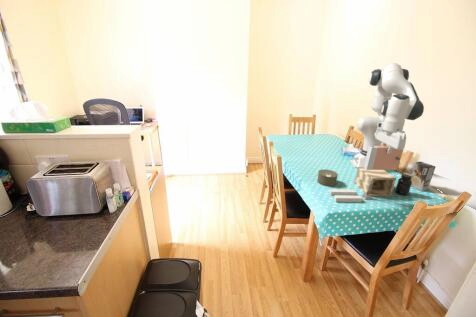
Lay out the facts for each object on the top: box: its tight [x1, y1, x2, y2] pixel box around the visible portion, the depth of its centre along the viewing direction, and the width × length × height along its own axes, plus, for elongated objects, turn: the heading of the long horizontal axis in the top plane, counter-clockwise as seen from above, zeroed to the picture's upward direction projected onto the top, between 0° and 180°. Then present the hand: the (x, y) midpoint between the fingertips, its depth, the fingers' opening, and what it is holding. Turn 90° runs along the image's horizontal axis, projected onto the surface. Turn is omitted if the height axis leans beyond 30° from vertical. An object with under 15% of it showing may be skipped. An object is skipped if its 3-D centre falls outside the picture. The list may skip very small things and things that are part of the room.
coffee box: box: [410, 161, 436, 192], centre depth 144 cm, size 9×6×16 cm
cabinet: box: [354, 167, 397, 200], centre depth 139 cm, size 20×17×12 cm
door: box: [364, 145, 404, 171], centre depth 124 cm, size 4×17×13 cm, turn 90°
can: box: [317, 169, 339, 187], centre depth 150 cm, size 12×12×7 cm
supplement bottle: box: [394, 173, 412, 196], centre depth 137 cm, size 7×7×12 cm
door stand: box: [328, 188, 364, 203], centre depth 133 cm, size 10×15×2 cm, turn 90°
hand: (386, 151), depth 124 cm, fingers closed on door, 2 cm apart
